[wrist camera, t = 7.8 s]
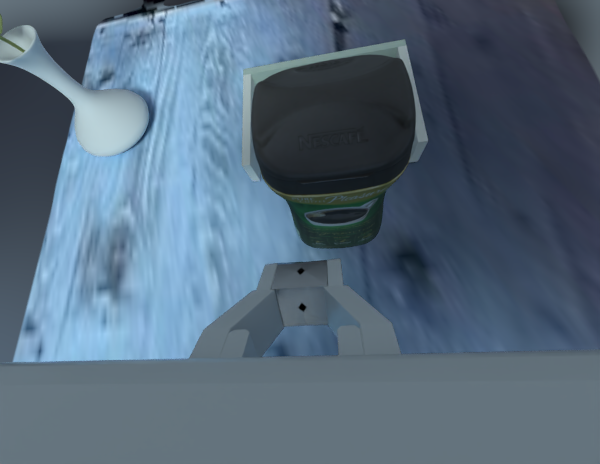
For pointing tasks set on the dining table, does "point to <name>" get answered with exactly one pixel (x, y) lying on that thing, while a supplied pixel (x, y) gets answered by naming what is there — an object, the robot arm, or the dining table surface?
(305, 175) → the coffee jar
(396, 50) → the report bay
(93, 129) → the flower in vase
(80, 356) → the dining table surface
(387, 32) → the dining table surface
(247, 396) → the robot arm
